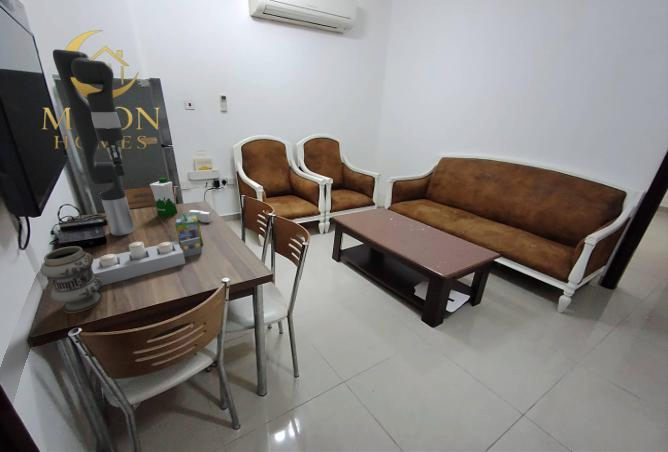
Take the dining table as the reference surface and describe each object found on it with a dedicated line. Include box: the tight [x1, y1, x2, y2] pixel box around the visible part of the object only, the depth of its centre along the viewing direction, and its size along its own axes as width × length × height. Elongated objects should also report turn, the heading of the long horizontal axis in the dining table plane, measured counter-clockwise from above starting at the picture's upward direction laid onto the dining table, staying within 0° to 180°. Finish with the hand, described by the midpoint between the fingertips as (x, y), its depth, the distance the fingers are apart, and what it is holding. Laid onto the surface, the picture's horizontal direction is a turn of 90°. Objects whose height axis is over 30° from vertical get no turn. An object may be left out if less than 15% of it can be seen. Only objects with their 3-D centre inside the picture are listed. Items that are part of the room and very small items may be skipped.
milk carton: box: [149, 177, 178, 218], centre depth 157 cm, size 9×9×20 cm
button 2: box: [128, 241, 146, 259], centre depth 108 cm, size 5×5×5 cm
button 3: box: [157, 241, 173, 254], centre depth 114 cm, size 5×5×5 cm
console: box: [91, 240, 186, 286], centre depth 110 cm, size 12×28×5 cm, turn 126°
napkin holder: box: [188, 209, 212, 223], centre depth 153 cm, size 15×11×6 cm
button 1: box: [99, 253, 118, 268], centre depth 104 cm, size 5×5×5 cm
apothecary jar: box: [40, 245, 104, 314], centre depth 88 cm, size 12×12×18 cm
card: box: [180, 237, 203, 258], centre depth 119 cm, size 1×7×7 cm, turn 126°
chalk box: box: [174, 211, 204, 249], centre depth 128 cm, size 9×9×15 cm
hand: (121, 175), depth 107 cm, fingers closed
